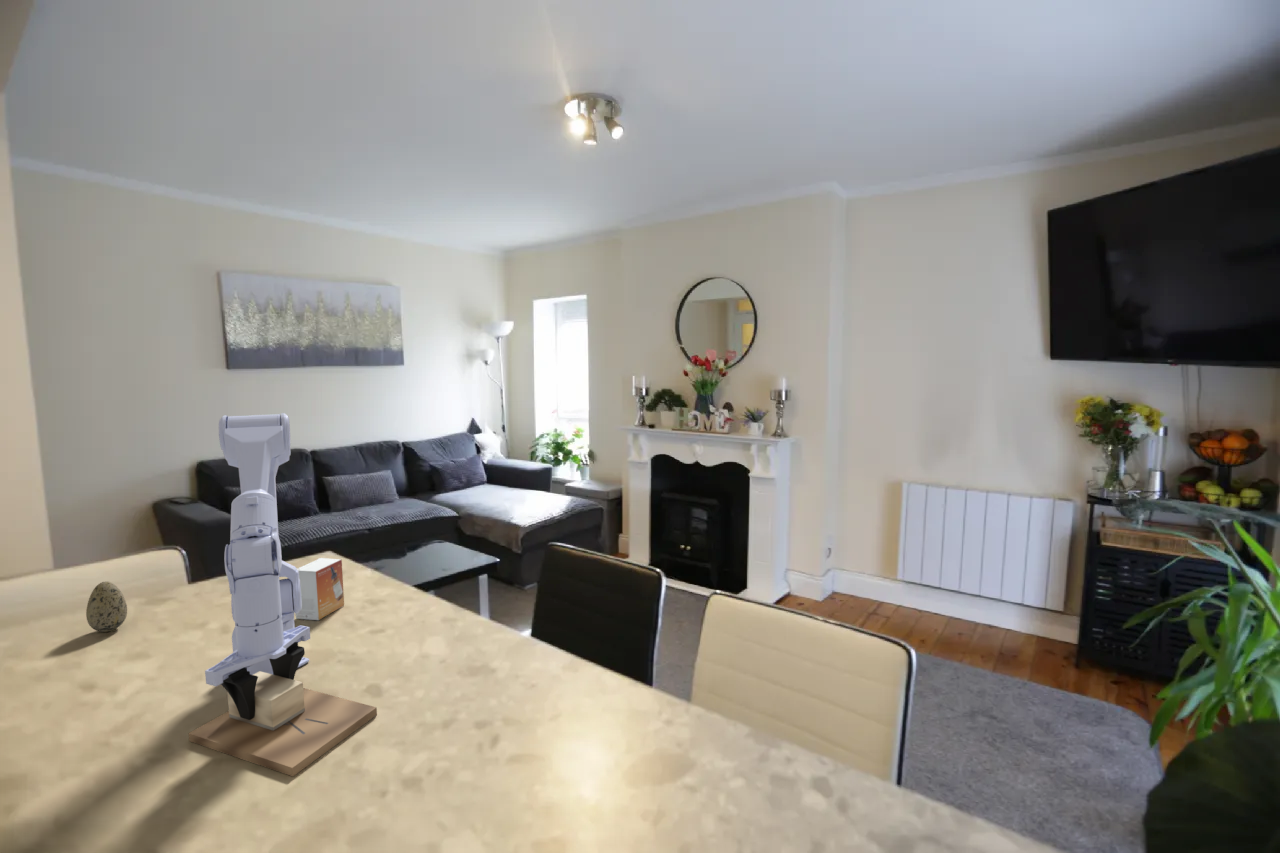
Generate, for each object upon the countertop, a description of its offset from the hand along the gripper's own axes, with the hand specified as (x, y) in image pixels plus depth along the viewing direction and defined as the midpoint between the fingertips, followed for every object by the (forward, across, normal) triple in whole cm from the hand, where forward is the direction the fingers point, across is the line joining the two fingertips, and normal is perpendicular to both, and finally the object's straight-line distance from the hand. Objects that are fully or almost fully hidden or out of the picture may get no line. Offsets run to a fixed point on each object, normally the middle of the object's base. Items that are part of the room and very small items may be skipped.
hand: (265, 706), depth 86 cm
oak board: (+2, 0, -4) cm, 5 cm away
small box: (+3, +31, +25) cm, 40 cm away
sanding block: (+1, 0, 0) cm, 1 cm away
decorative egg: (+3, +10, +57) cm, 58 cm away
